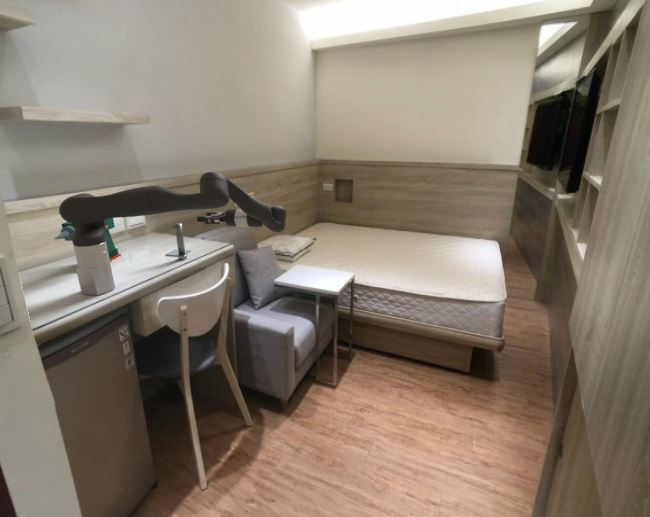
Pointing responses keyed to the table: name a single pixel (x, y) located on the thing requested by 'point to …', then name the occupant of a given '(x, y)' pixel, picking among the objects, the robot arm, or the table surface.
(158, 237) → the table surface
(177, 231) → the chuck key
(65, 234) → the power tool
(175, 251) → the rest mat
